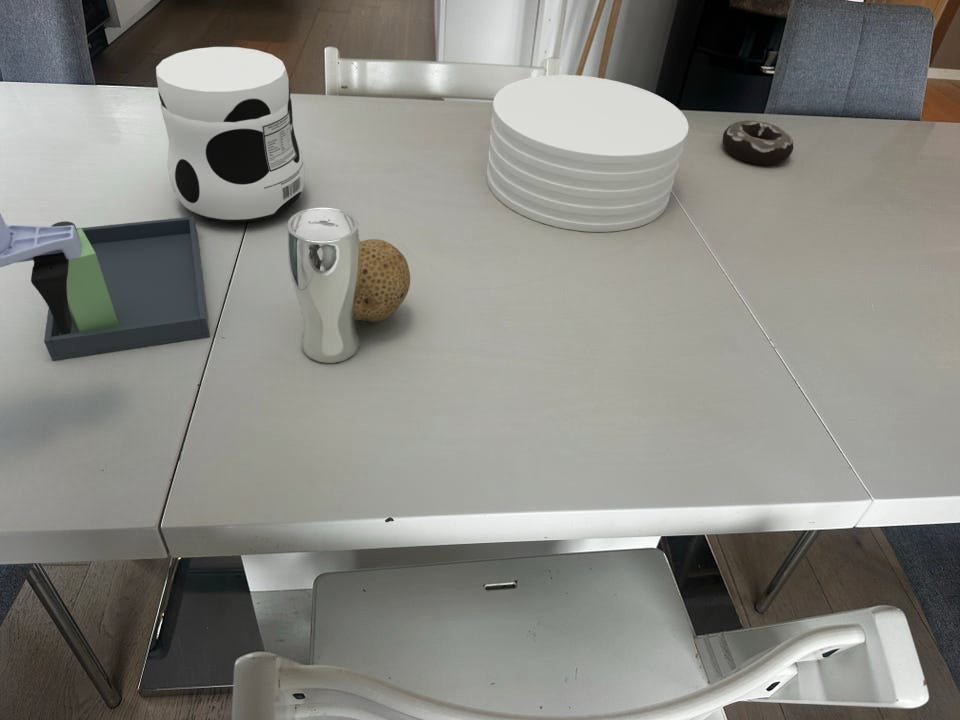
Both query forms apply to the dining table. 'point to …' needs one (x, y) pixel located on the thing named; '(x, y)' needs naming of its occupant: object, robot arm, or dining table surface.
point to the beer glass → (326, 280)
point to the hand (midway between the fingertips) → (17, 335)
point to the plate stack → (584, 152)
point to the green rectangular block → (88, 289)
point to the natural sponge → (381, 280)
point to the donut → (757, 142)
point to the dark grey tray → (142, 288)
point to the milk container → (230, 133)
